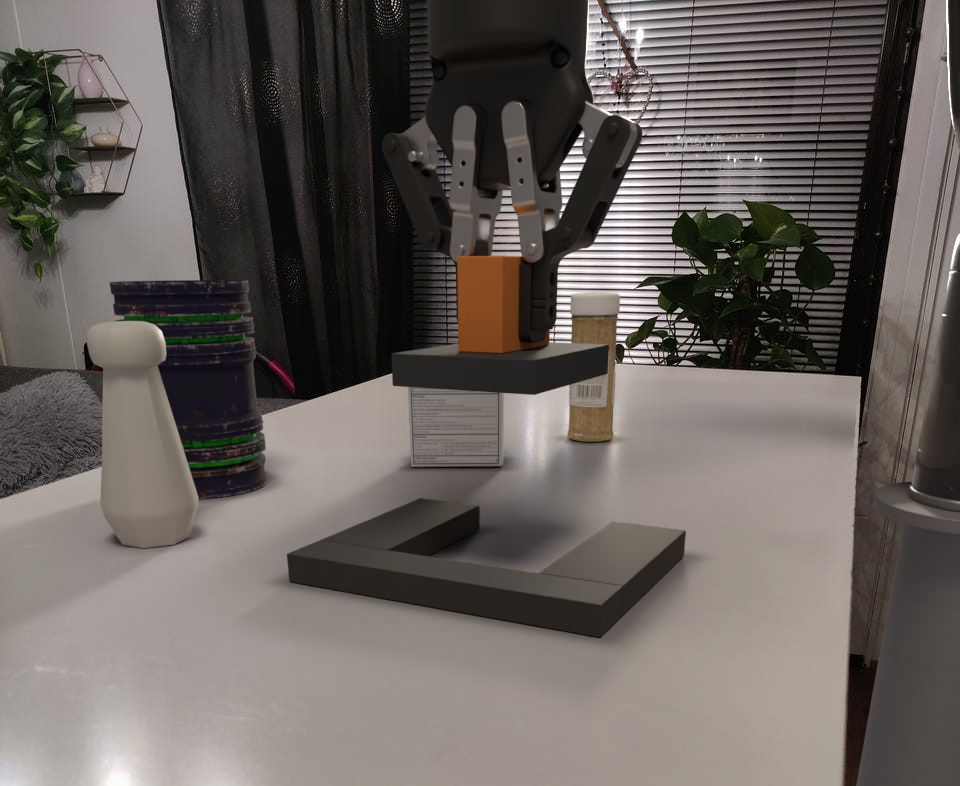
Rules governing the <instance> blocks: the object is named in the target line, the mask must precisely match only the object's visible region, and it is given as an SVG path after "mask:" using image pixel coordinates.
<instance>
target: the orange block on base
mask: <svg viewBox="0 0 960 786" xmlns="http://www.w3.org/2000/svg"><path fill="white" fill-rule="evenodd" d="M519 265H525V259H524V258H523V257H522V255H491V256H458V257H457V275H458V322H457V343H453V344H447V345H440V346H433V347H427V348H419V349H413V350H407V351H406V350H405V351H400V352H393V353H391V356H390V357H391V378H392V380H391V381H392V386H393V387H403V388H408V387H417V388H433V389H448V390H464V391H480V392H496V393H504V394H512V395H513V394H514V395H529V396H536V395H539V394H542V393H547V392H550V391H553V390H556V389H561V388H563V387H567V386H569V385H571V384H574V383H578V382H581V381H585V380H588V379H592V378H595V377H599V376H602V375H606V374H607V373H608V357H609V345H608V344H580V343H571V342H550V335H551V334H550V333H551V332H550V331H551V329H550V330H547V334H546V338H545V340H544V341H540V342H534V343H528V342H521V341H520V340H519V335H518V323H519Z"/></svg>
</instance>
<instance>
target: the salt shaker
mask: <svg viewBox="0 0 960 786" xmlns="http://www.w3.org/2000/svg"><path fill="white" fill-rule="evenodd" d="M114 321H115V320H114ZM114 321H107V322H100V323H97V324H94V325H92V326H91V327H90V329H89V330H88V331H87V333H86V334H87V335H86V346H87V351H88V354H89V358H90V359H91V362H92V363H93V365H95V366H98V367H100V368H102V417H101V418H102V420H101V421H102V425H101V426H102V427H101V428H102V430H101V471H100V472H101V473H100V475H101V476H100V498H99V499H100V500H99V501H100V508H101V511H102V515H103V517H104V519H105V520H106V522H107V523H108V525H109V526H110V528H111V529H112V531H113V532H114V534H115V536H116V537H117V539H118V540H119V542H120V543H121V545H123V546H129V547H134V548H140V549H149V548H156V547H157V548H158V547H165V546H166V547H167V546H173V545H174V546H175V545H176V544H178V543H180V542H182V541H184V540H187V539H189V538H190V537H191V535H192V531H193V528H194V523H195V520H196V516H197V512H198V510H199V499H198V495H197V491H196V488H195V485H194V482H193V478H192V475H191V472H190V469H189V466H188V462H187V459H186V456H185V453H184V449H183V446H182V443H181V440H180V437H179V433H178V430H177V427H176V424H175V420H174V417H173V414H172V411H171V408H170V404H169V401H168V398H167V395H166V391H165V388H164V385H163V382H162V379H161V375H160V372H159V369H158V366H157V365H158V364H160V363H162V362H163V361H165V359H166V343H165V340H164V336H163V333H162V331H161V330H160V329H159V328H158V327H157V326H156V325H154V324H151V323H148V322H143V321H115V322H114Z"/></svg>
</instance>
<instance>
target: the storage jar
mask: <svg viewBox="0 0 960 786" xmlns="http://www.w3.org/2000/svg"><path fill="white" fill-rule="evenodd" d="M109 288H110V294H111V295H113V301H114V303H113V304H112V308H113V314H114V316H121V317H123V318H122V319H115V320H113V322H115V321H143V322H148V323H151V324H154V325H156V326H157V327H158V328H159V329H160V330H161V331H162V333H163V336H164V340H165V343H166V359H165V361H163V362H162V363H160V364H158V365H157V366H158V369H159V372H160V375H161V379H162V382H163V385H164V388H165V391H166V395H167V398H168V401H169V404H170V408H171V411H172V414H173V417H174V420H175V424H176V427H177V430H178V433H179V437H180V440H181V443H182V446H183V449H184V453H185V456H186V459H187V462H188V466H189V469H190V472H191V475H192V478H193V482H194V485H195V488H196V491H197V495H198V500H202V499H203V500H204V499H215V498H223V497H230V496H237V495H241V494H246V493H249V492H253V491H256V490H259V489H261V488H263V487H265V486H266V485H267V484H268V473H267V472H266V470H265V463H266V461H267V459H266V455H265V454H264V453H263V452H265V451H266V449H267V446H266V435H265V433H263V430H264V420H263V414H262V412H261V411H260V409H259V407H258V401H257V400H258V399H257V390H256V389H257V388H256V381H255V379H256V378H255V369H254V361H255V359H256V357H257V355H256V354H257V353H256V349H257V347H256V344H255V338H254V337H252V336H246V335H252V334H254V333H255V323H254V317H251V316H244V314H248V313H251V312H252V307H251V301H250V300H249V297H248V293H249V292H250V287H249V280H247V279H204V280H203V279H200V280H199V279H196V280H195V279H191V280H188V279H187V280H185V279H183V280H181V279H180V280H179V279H177V280H127V281H125V280H123V281H122V280H121V281H120V280H119V281H109Z"/></svg>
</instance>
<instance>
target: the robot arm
mask: <svg viewBox="0 0 960 786" xmlns="http://www.w3.org/2000/svg"><path fill="white" fill-rule="evenodd" d="M945 1H946V3H945V4H946V5H945V6H946V30H947V31H946V36H947V39H946V40H947V70H948V71H947V72H948V95H949V109H950V116H951V117H950V118H951V123H952V130H953V133H954V137H955V140H956V143H957V146H958V149H959V150H960V0H945ZM589 3H590V0H426V8H427V9H426V14H427V19H426V20H427V52H428V56H429V61H430V65H431V72H432V81H431V87H430V90H429V93H428V96H427V99H426V101H425V104H424V117H423V116H422V118H421V119H420V120H418V121H416V122H415V123H414V124H413V125H411V126H410V127H409V128H408V129H406V130H405V131H404V132H402V133H396V132H389V133H387V134H385V136H384V137H383V138H382V141H381V150H382V153H383V156H384V158H385V161H386V163H387V165H388V169H389V170H390V172H391V175H392V177H393V180H394V182H395V185H396V187H397V189H398V192H399V194H400V196H401V199H402V201H403V204H404V207H405V208H406V211H407V213H408V216H409V218H410V220H411V224H412V226H413V227H414V231H415V233H416V235H417V237H418V239H419V242H420V245H421V246H422V247H423V248H424V249H425V250H428V251H436V252H438V253H440V254H442V255H444V256H447V257H449V258H450V259H451V261H452V262H453V264H454V267H455V298H456V299H455V300H456V301H455V302H456V303H455V306H456V308H455V310H456V311H455V314H456V317H455V319H456V322H457V323H458V275H457V257H458V256H492V253H493V246H494V237H495V227H496V220H497V217H498V216H499V214H500V212H501V210H502V202H503V194H504V190H507V189H509V188H510V197H511V205H512V209H513V210H514V212H515V213H516V216H517V227H518V235H519V244H520V255H521V256H522V257H523V258H524V259H525V265H519V323H518V335H519V340H520V341H521V342H528V343H534V342H540V341H544V340H545V338H546V334H547V330H550V331H551V330H554V328H555V324H556V321H557V316H558V315H557V313H558V308H557V307H558V281H559V279H558V278H559V277H558V276H559V266H560V264H561V261H563V259H564V258H565V257H566V256H568V255H571V254H573V253H576V252H577V251H580V250H582V249H588V248H591V246H592V245H593V244H595V241H596V239H597V237H598V235H599V232H600V231H601V228H602V226H603V224H604V222H605V220H606V217H607V216H608V213H609V211H610V209H611V207H612V205H613V202H614V201H615V197H616V196H617V194H618V192H619V190H620V187H621V185H622V183H623V182H624V180H625V177H626V175H627V172H628V170H629V169H630V166H631V164H632V162H633V159H634V158H635V155H636V153H637V151H638V149H639V146H640V145H641V142H642V140H643V129H642V127H641V125H640V124H639V123H638V122H636V121H633V120H632V119H628V118H626V117H623V116H622V115H619V114H612V113H610V112H608V111H606V110H605V109H602V108H601V107H599V106H597V105H595V99H594V94H593V90H592V88H591V86H590V84H589V80H588V78H587V73H586V72H587V71H586V59H587V53H588V35H589V33H588V32H589V6H590V5H589ZM582 133H583V134H584V135H583V141H582V145H581V152H582V155H583V157H584V158H585V161H584V164H583V166H582V168H581V170H580V173H579V175H578V177H577V180H576V182H575V183H574V187H573V189H572V191H571V193H570V196H569V198H568V199H567V202H566V205H565V207H564V209H563V208H562V207H563V193H562V181H561V180H562V179H561V170H560V169H561V167H562V166H563V164H564V162H565V161H566V159H567V157H568V155H569V154H570V152H571V151H572V149H573V147H574V146H575V144H576V143H577V141H578V140H579V138H580V136H581V134H582ZM437 145H438V146H439V148H440V149H441V151H442V153H443V154H444V156H445V158H446V160H447V161H448V163H449V164H450V166H451V174H450V175H451V176H450V177H451V178H450V187H449V188H450V189H449V199H448V198H447V195H446V192H445V190H444V187H443V184H442V183H441V179H440V177H439V175H438V172H437V170H436V168H437V166H438V165H439V163H440V158H439V154H438V151H437V147H438V146H437ZM562 209H563V211H562ZM561 211H562V214H561ZM560 215H561V216H560ZM949 270H950V271H949V272H948V277H947V282H946V288H945V293H944V300H943V305H942V310H941V317H940V321H939V322H940V323H939V329H938V334H937V340H936V345H935V352H934V357H933V362H932V368H931V374H930V378H929V383H928V391H927V395H926V402H925V407H924V412H923V419H922V424H921V430H920V434H919V440H918V447H917V451H916V457H915V462H914V468H913V474H912V480H911V482H912V483H911V484H910V488H909V494H908V496H909V497H910V498H911V499H912V500H914V501H916V502H918V503H921V504H923V505H927V506H930V507H934V508H938V509H943V510H948V511H954V512H960V233H959V234H958V236H957V237H956V239H955V241H954V245H953V249H952V255H951V259H950V266H949Z"/></svg>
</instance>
